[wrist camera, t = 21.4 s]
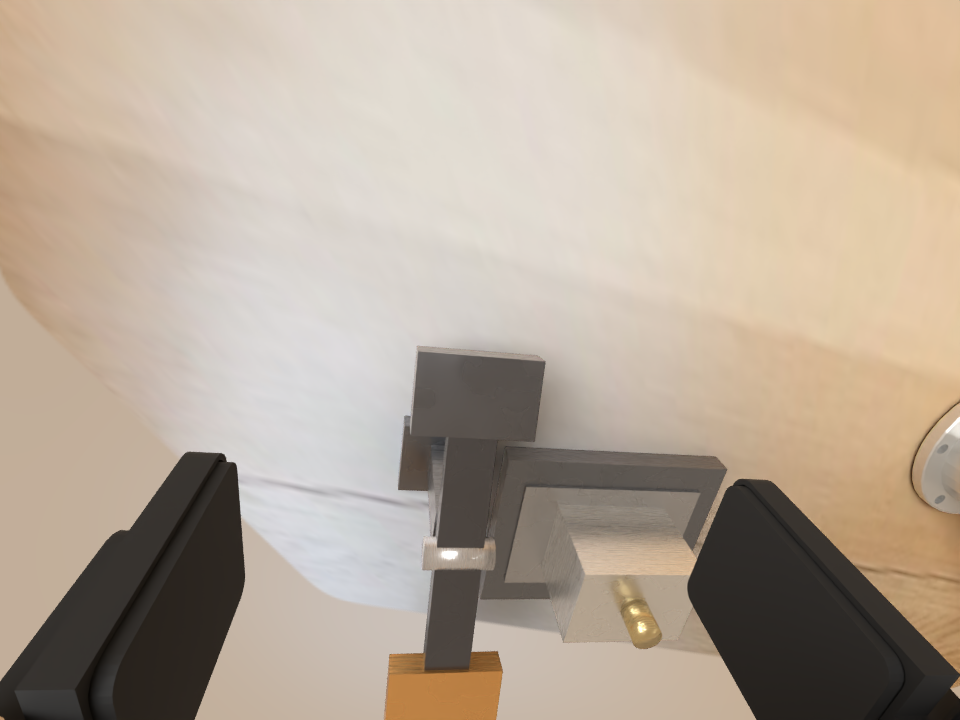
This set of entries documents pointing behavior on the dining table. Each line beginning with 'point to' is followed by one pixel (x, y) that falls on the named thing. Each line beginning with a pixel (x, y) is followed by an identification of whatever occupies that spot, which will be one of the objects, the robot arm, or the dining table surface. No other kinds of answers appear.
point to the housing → (618, 575)
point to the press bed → (563, 498)
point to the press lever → (461, 524)
